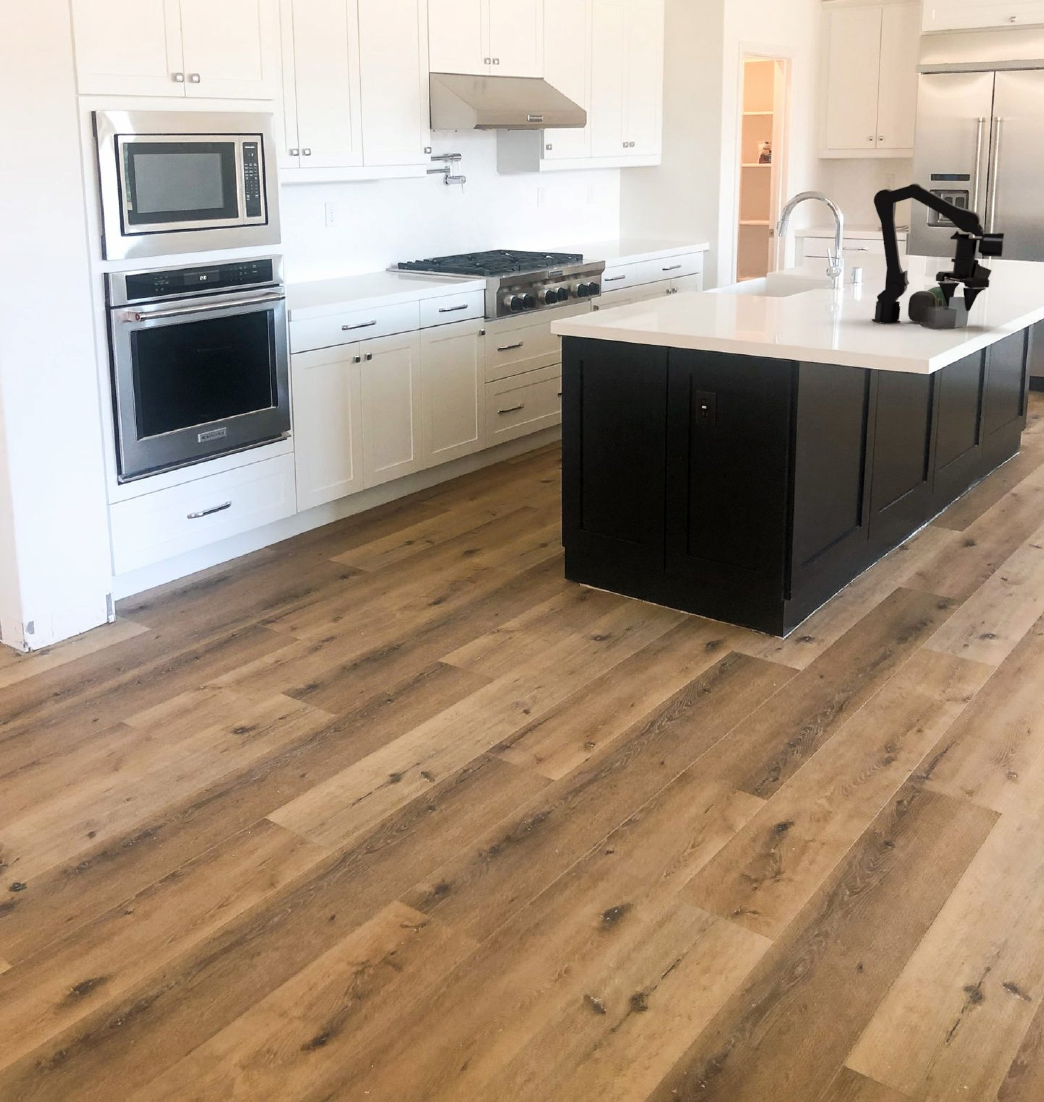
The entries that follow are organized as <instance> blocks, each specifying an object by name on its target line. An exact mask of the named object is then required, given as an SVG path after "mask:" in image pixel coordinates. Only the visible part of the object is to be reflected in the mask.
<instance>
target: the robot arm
mask: <svg viewBox="0 0 1044 1102" xmlns="http://www.w3.org/2000/svg"><path fill="white" fill-rule="evenodd" d="M908 199H914V200H916V201H917V202H919V203H920V204H923V205H925V206H926V207H928V208H930V209H932V210H933V211H935V212H937V213H938V214H940V215H942V216H944V217H945V218H946V219H948V220H949V221H950V222H951V224H953V225H954V226H956V227H957V228H958V229H959V230H960V231H962V232H963V233H960V231H959V230H956V231H955V233H954V234H953V235H951V236H950V237H949V239H950V240H956V245H955V253H954V258H951V260H950V262H951V263H953V269H952V271H951V270H946V271H945V270H944V271H938V272H937V273H936V274H935V282H937V285H939V287H940V288H941V290H942V292H943V295H944V298H945V300H946V303H947V306H948V307H949V301H950V297H955V290H956V289H957V288H958V286H959V285H960V283H961V284H963V285H964V287H963V288H962V290H963V297H964V301H965V308H966V311H969V312H970V310H972V306H973V305H974V303H975V301H976V298H977V296H978V295H979V294H980V293H981V292H983V291H985V290H986V289H987V288H990V281H991V280H990V279H989V278H990V276H991V273H992V271H993V270H991V269H989V268H987V267H984V266H982V265H981V264H980V262H979V259H976V254H977V253H976V252H978V253H980V254H981V257H992V258H993V257H995V258H1002V257H1003V252H1004V245H1005V243H1004V239H1005V238H1004V237H1005V233H1004V232H995V233H994V232H993V233H991V232H986V231H985V229H984V228H983V227H982V225H981V218H980V215H979V213H978V212H976V211H973V210H972V209H971V210H970V209H967V208H964V207H961V206H957V205H955V204H952V203H950V202H949V201H947V200H946V199H944V198H943V197H941V196H938V195H936V194H935V193H933V192H931V191H930V190H928V189H926V188H924V187H923V186H921V185H920V184H919V183H911V184H909V185H907V186H904V187H900V188H897V189H894V190H893V189H891V188H890V189H889V188H883V189H881V190H879V191H878V192H876V193H875V195H874V197H873V204H874V207H875V210H876V214H877V216H878V219H879V221H880V225H881V232H882V233H881V234H882V240H883V247H884V249H883V250H884V255H885V265H886V272H885V283H884V284H885V286H884V289H883V290H882V291H881V292H880V293H878V295H876V298H877V300H876V303H875V311H874V318H871V321H873V322H876V323H880V324H893V323H894V324H899V323H901V320H900V312H901V306H900V305H901V304H900V303H901V302H900V301H898V300H899V298H900V297H902V296H903V295H904V294H905V292H906V291H907V289H908V285H910V281H909V280H908V279H909V278H908V269H907V270H903V268H902V266H901V259H900V253H899V252H900V251H899V245H898V235H897V229H896V228H897V227H896V219H895V218H896V209H897V203H899V202H901V201H905V200H908ZM971 235H973V236H974V237H973V236H972V237H971ZM978 241H979V242H978ZM977 245H978V251H977Z"/></svg>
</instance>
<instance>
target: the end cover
mask: <svg viewBox="0 0 1044 1102" xmlns="http://www.w3.org/2000/svg"><path fill="white" fill-rule="evenodd" d="M948 308H952V309H957V313H956V321H955V328H957V327H958V328H959V327H968V319H969V312H970V311H966V308H965V301H964V296H954V297H950V301H949V307H948Z"/></svg>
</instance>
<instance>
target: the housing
mask: <svg viewBox="0 0 1044 1102" xmlns="http://www.w3.org/2000/svg"><path fill="white" fill-rule="evenodd" d="M956 313H957V309H952V308H948V307H944V306H940V307H923V309H922V318H921V322H920V327H923V328H928V329H931V330H948V329H949V330H952V329H954V330H955V328H956V327H955V321H956Z"/></svg>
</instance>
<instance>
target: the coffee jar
mask: <svg viewBox="0 0 1044 1102" xmlns="http://www.w3.org/2000/svg"><path fill="white" fill-rule="evenodd" d="M940 306H944V307H948V306H947V303H946V300H945V298H944V295H943V292H942V290H941V288H940V286H935V287H932V288H929V289H928V290H919V291H915V292H914V293H913V294H911V296H910V298H909V300H908V306H907V307H908V309H907V315H908V318H909V320H911V321H912V322H915V323H916V322H917V323H921V318H922V309H923V307H940Z"/></svg>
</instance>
